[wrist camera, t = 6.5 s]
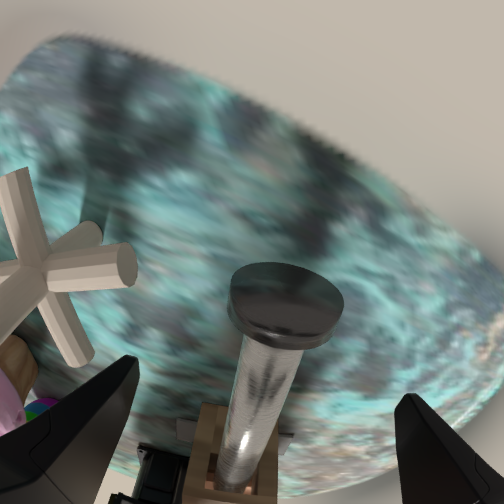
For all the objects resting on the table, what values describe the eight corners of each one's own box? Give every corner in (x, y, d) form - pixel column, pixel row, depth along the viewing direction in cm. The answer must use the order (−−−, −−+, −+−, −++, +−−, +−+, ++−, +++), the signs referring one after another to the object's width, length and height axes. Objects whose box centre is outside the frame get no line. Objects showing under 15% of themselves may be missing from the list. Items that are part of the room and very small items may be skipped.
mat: (283, 452, 25) (283, 455, 25) (177, 436, 25) (176, 439, 25) (292, 435, 24) (293, 438, 24) (176, 417, 24) (176, 420, 23)
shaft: (258, 466, 20) (255, 510, 16) (205, 458, 20) (197, 503, 16) (333, 272, 13) (354, 333, 9) (237, 255, 13) (223, 313, 9)
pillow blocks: (256, 464, 26) (251, 535, 19) (196, 454, 26) (183, 525, 19) (278, 413, 23) (277, 506, 15) (202, 402, 22) (182, 494, 15)
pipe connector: (145, 131, 15) (0, 169, 6) (185, 301, 19) (129, 443, 10) (15, 174, 16) (-104, 231, 7) (60, 307, 20) (-17, 403, 11)
